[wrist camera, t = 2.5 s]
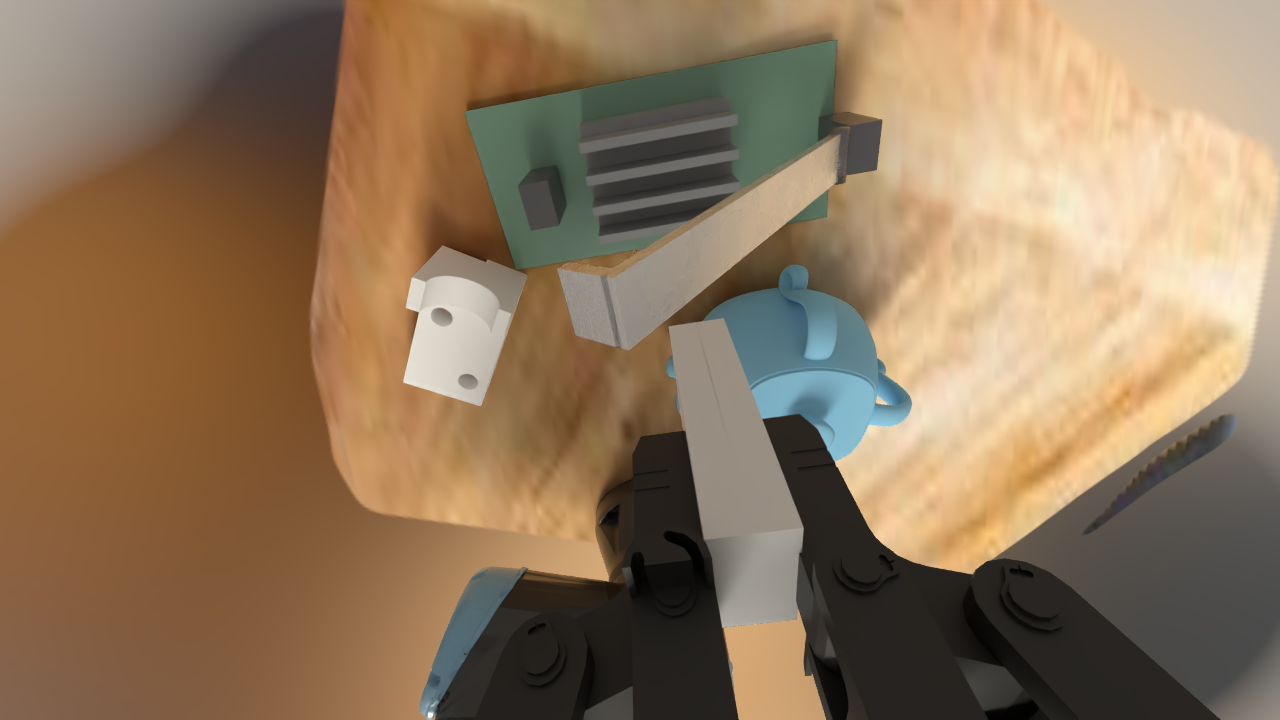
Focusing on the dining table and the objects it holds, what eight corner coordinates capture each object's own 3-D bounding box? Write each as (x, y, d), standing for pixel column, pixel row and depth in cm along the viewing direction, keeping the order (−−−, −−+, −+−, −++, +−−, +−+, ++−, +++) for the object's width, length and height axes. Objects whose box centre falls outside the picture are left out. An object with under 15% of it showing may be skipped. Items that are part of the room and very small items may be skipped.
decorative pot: (733, 433, 51) (766, 540, 40) (647, 334, 44) (658, 430, 32) (872, 357, 46) (956, 454, 35) (803, 231, 39) (880, 302, 27)
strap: (802, 179, 32) (848, 179, 30) (576, 339, 18) (636, 357, 16) (804, 128, 30) (852, 125, 28) (555, 263, 16) (619, 273, 15)
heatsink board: (835, 212, 38) (869, 236, 33) (518, 266, 40) (502, 297, 34) (847, 37, 32) (892, 32, 26) (467, 110, 33) (438, 119, 28)
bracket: (446, 241, 38) (411, 277, 32) (528, 273, 40) (511, 313, 34) (417, 361, 45) (384, 410, 38) (489, 384, 47) (469, 435, 40)
